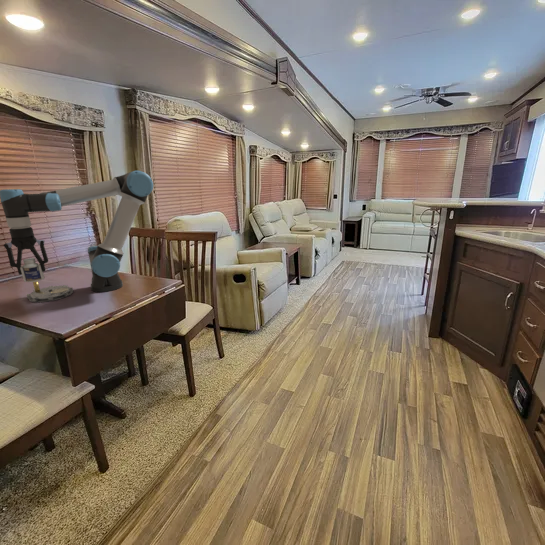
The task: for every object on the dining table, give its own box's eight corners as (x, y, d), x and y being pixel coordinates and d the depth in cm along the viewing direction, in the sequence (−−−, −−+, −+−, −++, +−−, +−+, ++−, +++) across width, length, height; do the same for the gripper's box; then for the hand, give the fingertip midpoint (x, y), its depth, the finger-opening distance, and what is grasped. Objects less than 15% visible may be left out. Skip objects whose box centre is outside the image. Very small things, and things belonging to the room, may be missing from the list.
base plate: (81, 290, 153) (81, 290, 153) (48, 303, 137) (48, 303, 137) (54, 288, 158) (53, 287, 157) (19, 300, 141) (18, 299, 141)
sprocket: (72, 285, 159) (69, 274, 157) (73, 295, 145) (71, 283, 143) (29, 292, 149) (26, 280, 147) (26, 304, 135) (22, 290, 133)
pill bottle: (25, 283, 126) (19, 261, 123) (29, 279, 131) (23, 258, 128) (40, 281, 128) (34, 260, 125) (43, 278, 133) (38, 257, 130)
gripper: (48, 224, 130) (60, 274, 137) (-7, 228, 121) (9, 281, 128) (46, 226, 124) (59, 278, 131) (-12, 230, 115) (5, 286, 122)
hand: (34, 279), depth 129 cm, fingers closed on pill bottle, 5 cm apart
